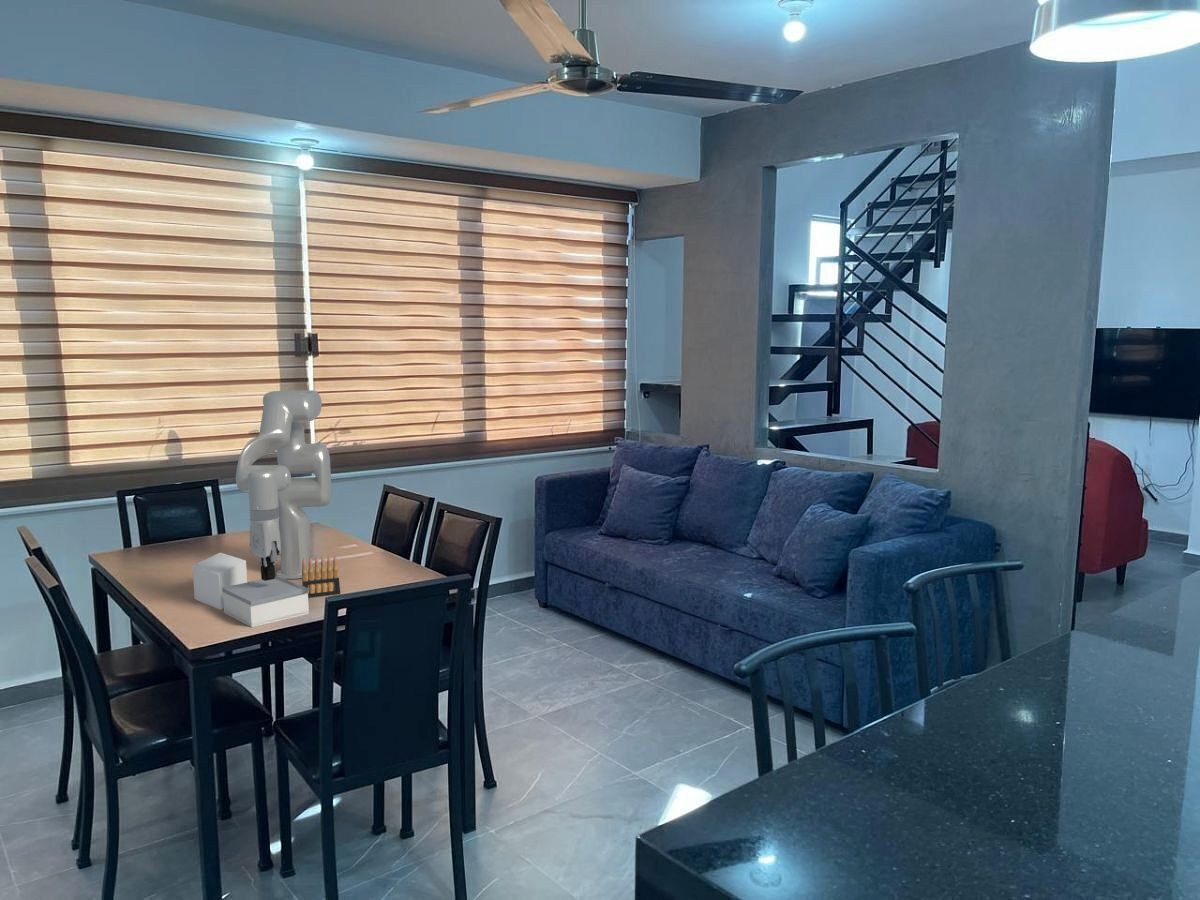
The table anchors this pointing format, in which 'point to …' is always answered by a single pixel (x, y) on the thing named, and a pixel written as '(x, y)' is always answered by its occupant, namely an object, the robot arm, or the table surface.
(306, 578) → the ammunition clip
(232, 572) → the white rectangular block
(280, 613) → the box
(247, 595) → the lid
